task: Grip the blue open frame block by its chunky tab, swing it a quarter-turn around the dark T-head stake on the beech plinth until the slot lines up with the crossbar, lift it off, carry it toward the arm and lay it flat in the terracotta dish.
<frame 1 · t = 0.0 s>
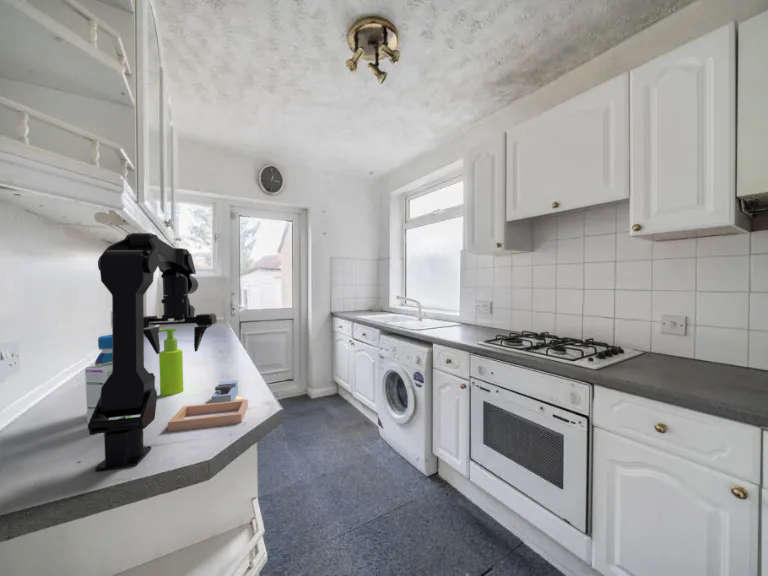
hand: (177, 352, 88), 15 cm above the countertop, fingers open, 9 cm apart
blue lidded jar: (117, 411, 86), on the countertop
tray: (211, 420, 78), on the countertop
stake: (224, 404, 89), on the countertop
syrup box: (109, 425, 77), on the countertop
soap dispenser: (170, 395, 98), on the countertop
blue open frame block: (224, 401, 89), point 1 cm above the countertop, touching stake
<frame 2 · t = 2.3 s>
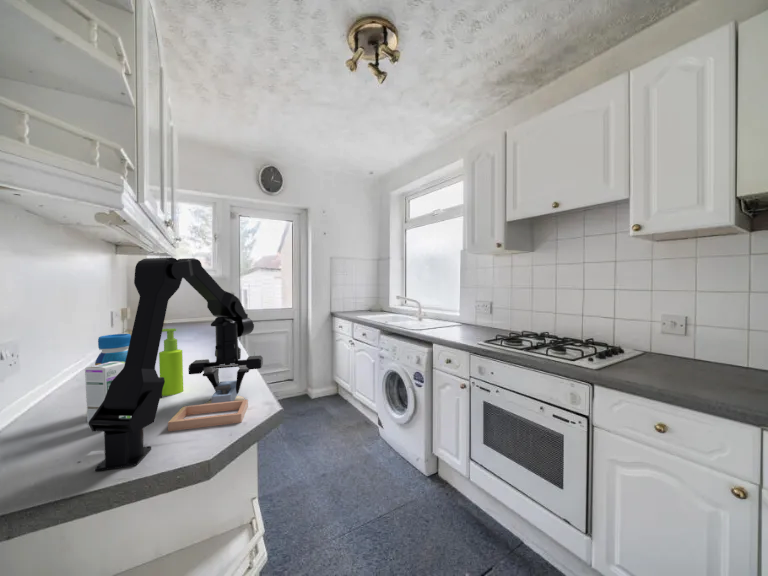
hand: (228, 394, 94), 1 cm above the countertop, fingers closed on blue open frame block, 5 cm apart
blue open frame block: (224, 401, 89), point 1 cm above the countertop, touching gripper, stake
everything else where it was.
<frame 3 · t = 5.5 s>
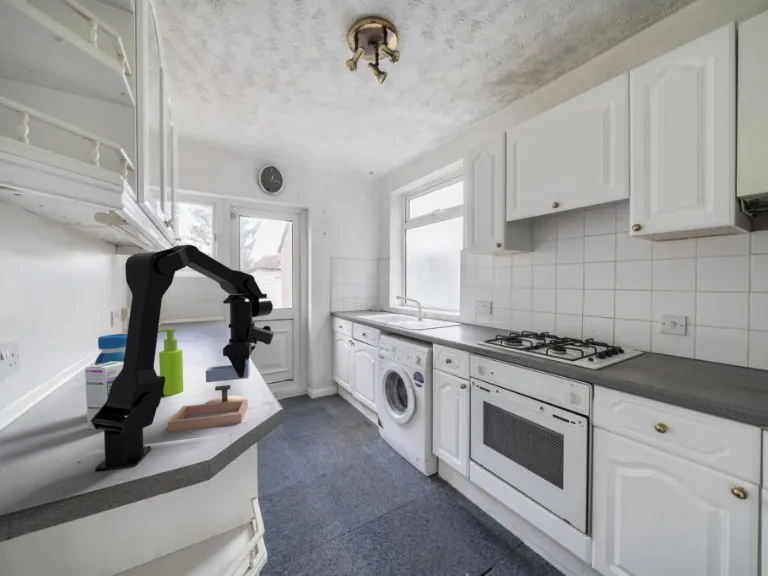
hand: (242, 374, 90), 8 cm above the countertop, fingers closed on blue open frame block, 5 cm apart
blue open frame block: (224, 378, 89), point 7 cm above the countertop, touching gripper
everything else where it was.
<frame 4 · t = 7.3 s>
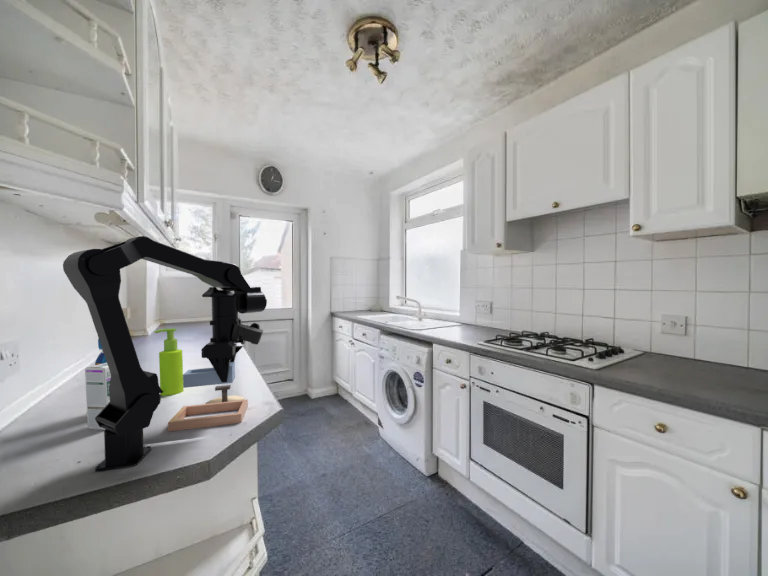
hand: (226, 379, 79), 10 cm above the countertop, fingers closed on blue open frame block, 5 cm apart
blue open frame block: (205, 382, 78), point 9 cm above the countertop, touching gripper
everything else where it was.
when the fingers open (3 cm above the countertop, at t = 8.7 s): blue open frame block drops 3 cm, resting on tray.
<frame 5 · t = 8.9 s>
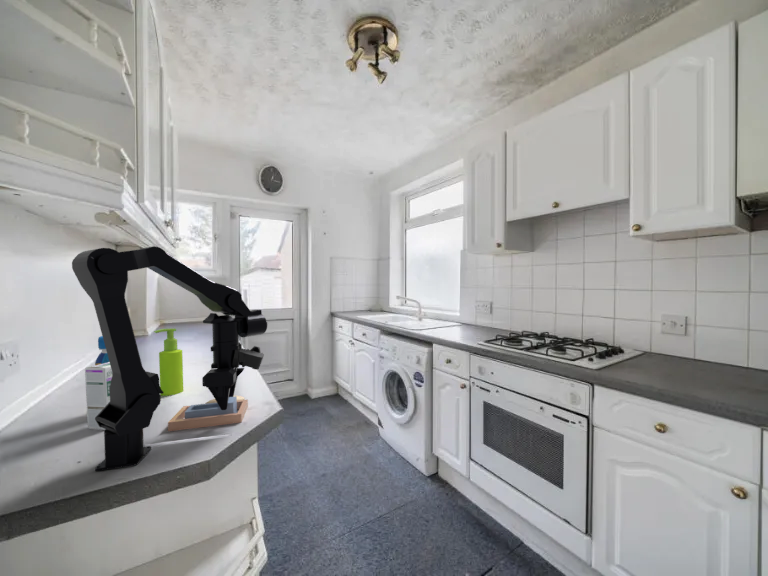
hand: (227, 404, 79), 3 cm above the countertop, fingers open, 7 cm apart
blue open frame block: (207, 418, 78), resting on tray
everything else where it was.
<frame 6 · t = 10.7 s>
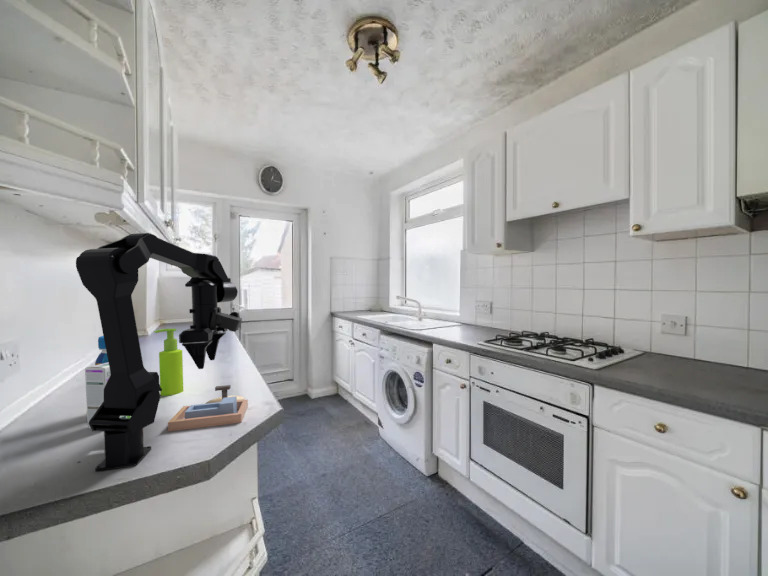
hand: (207, 364, 84), 12 cm above the countertop, fingers open, 9 cm apart
nothing on the countertop moved.
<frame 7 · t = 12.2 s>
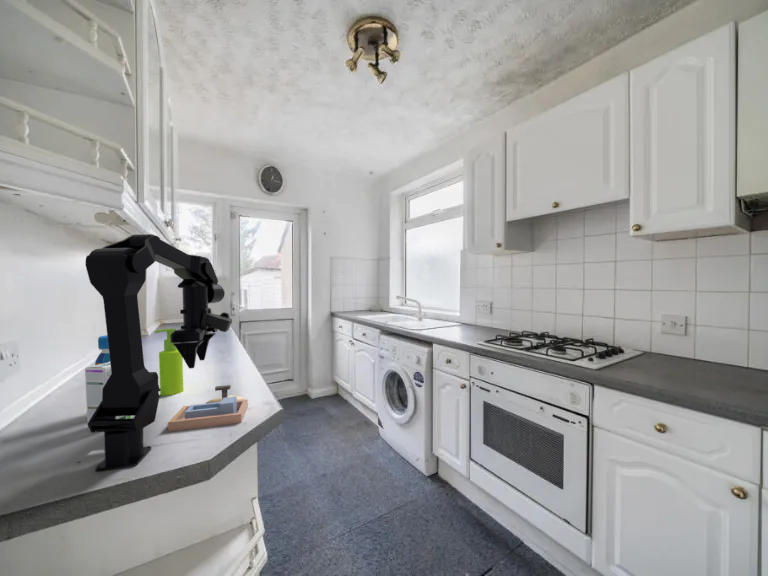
hand: (197, 364, 85), 12 cm above the countertop, fingers open, 9 cm apart
nothing on the countertop moved.
at the end: blue open frame block inside the target area on the tray (0.1 cm from its centre), point 0.5 cm above the tray's base; blue open frame block tilted 0° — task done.
